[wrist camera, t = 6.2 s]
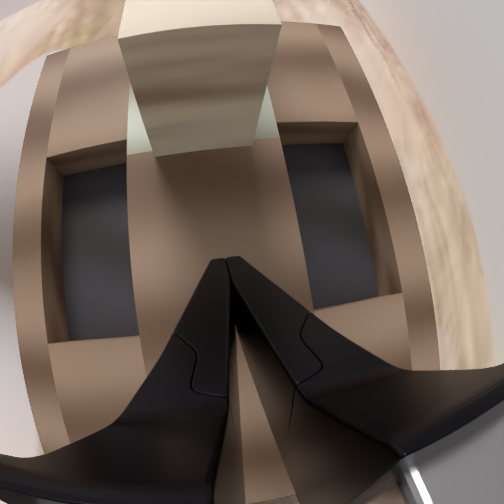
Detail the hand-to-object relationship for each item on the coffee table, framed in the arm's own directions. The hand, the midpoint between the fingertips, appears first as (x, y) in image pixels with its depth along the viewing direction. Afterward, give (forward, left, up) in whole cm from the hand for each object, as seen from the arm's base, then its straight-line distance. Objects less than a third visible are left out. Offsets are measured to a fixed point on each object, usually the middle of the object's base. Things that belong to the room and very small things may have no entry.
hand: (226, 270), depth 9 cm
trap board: (+2, -2, -8) cm, 9 cm away
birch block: (+9, -8, -5) cm, 13 cm away
